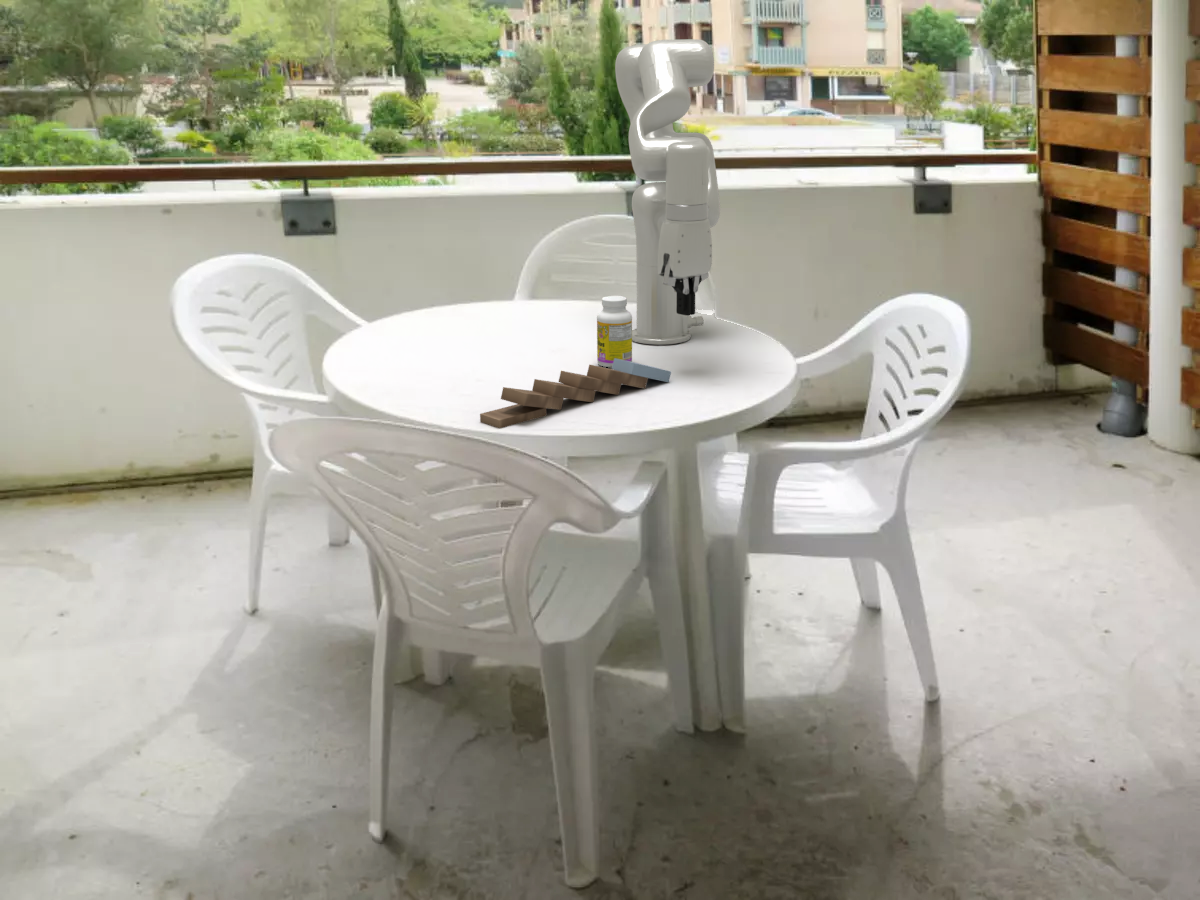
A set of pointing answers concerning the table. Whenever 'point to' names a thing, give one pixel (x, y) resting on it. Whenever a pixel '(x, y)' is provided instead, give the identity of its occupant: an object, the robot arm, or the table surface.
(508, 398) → the domino
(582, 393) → the domino
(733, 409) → the table surface
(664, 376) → the domino
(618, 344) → the supplement bottle
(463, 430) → the table surface
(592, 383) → the domino
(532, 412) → the domino
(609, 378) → the domino
